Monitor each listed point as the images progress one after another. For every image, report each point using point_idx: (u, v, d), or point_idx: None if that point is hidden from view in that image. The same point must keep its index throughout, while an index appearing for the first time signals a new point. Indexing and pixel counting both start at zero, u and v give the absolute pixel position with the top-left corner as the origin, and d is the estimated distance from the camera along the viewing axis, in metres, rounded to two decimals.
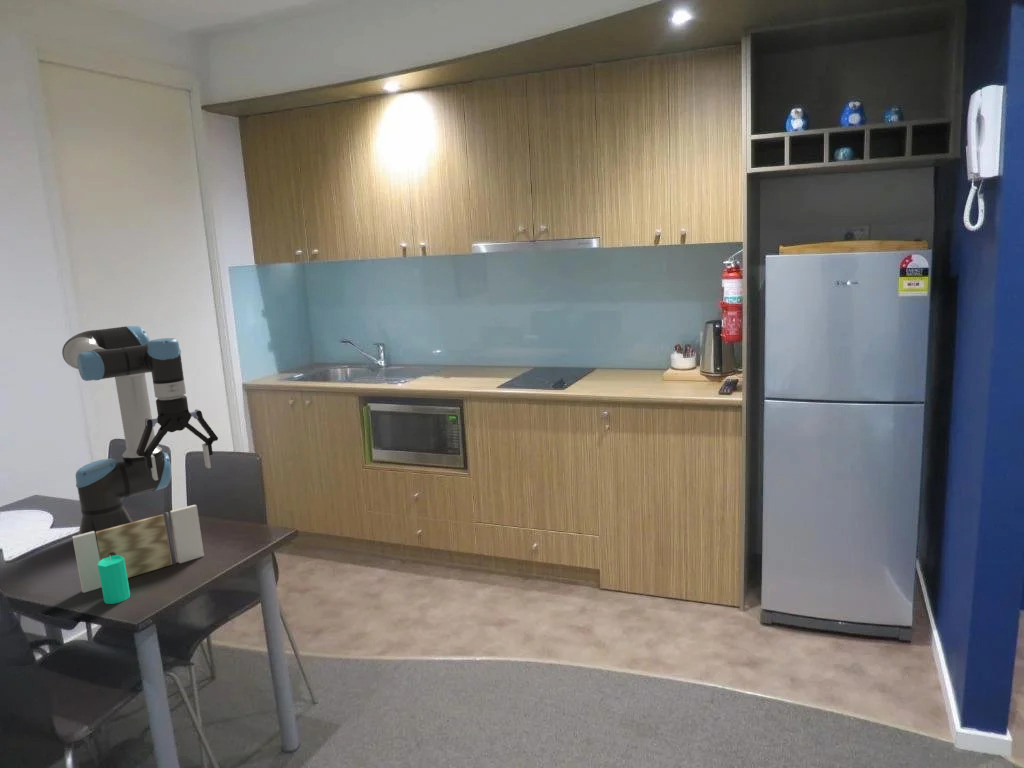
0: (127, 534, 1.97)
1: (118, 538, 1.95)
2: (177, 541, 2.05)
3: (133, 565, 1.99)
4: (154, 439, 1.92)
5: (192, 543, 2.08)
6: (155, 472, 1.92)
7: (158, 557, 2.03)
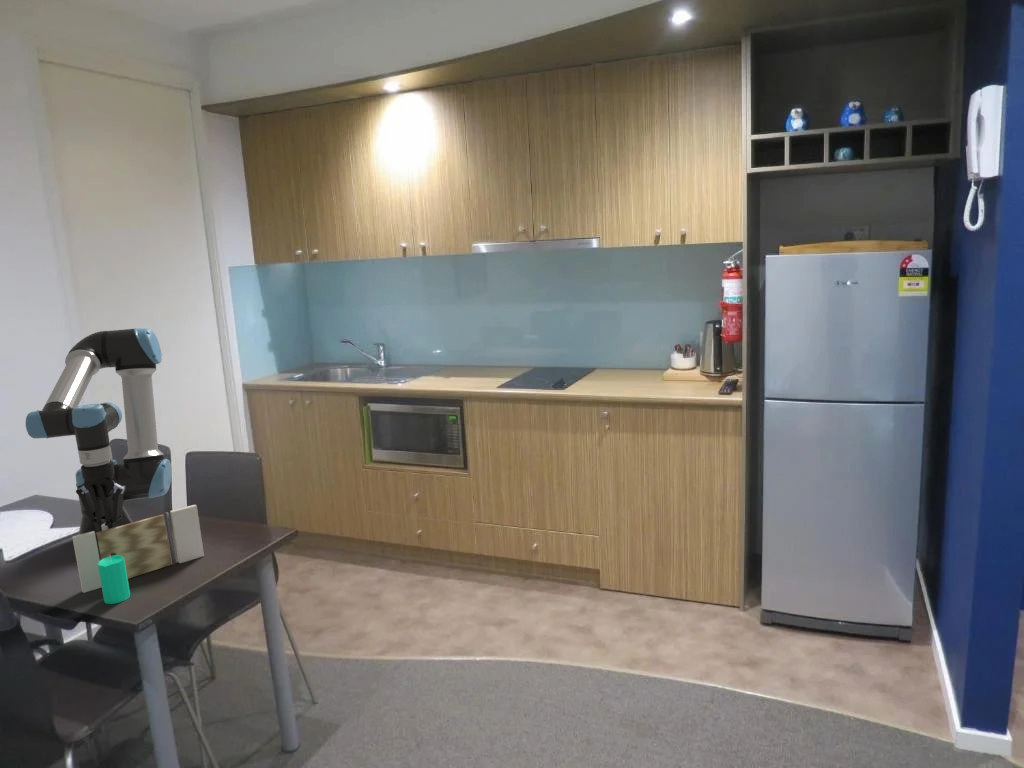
0: (127, 535, 1.96)
1: (119, 539, 1.95)
2: (177, 541, 2.05)
3: (134, 565, 1.98)
4: None
5: (192, 543, 2.08)
6: None
7: (158, 557, 2.03)
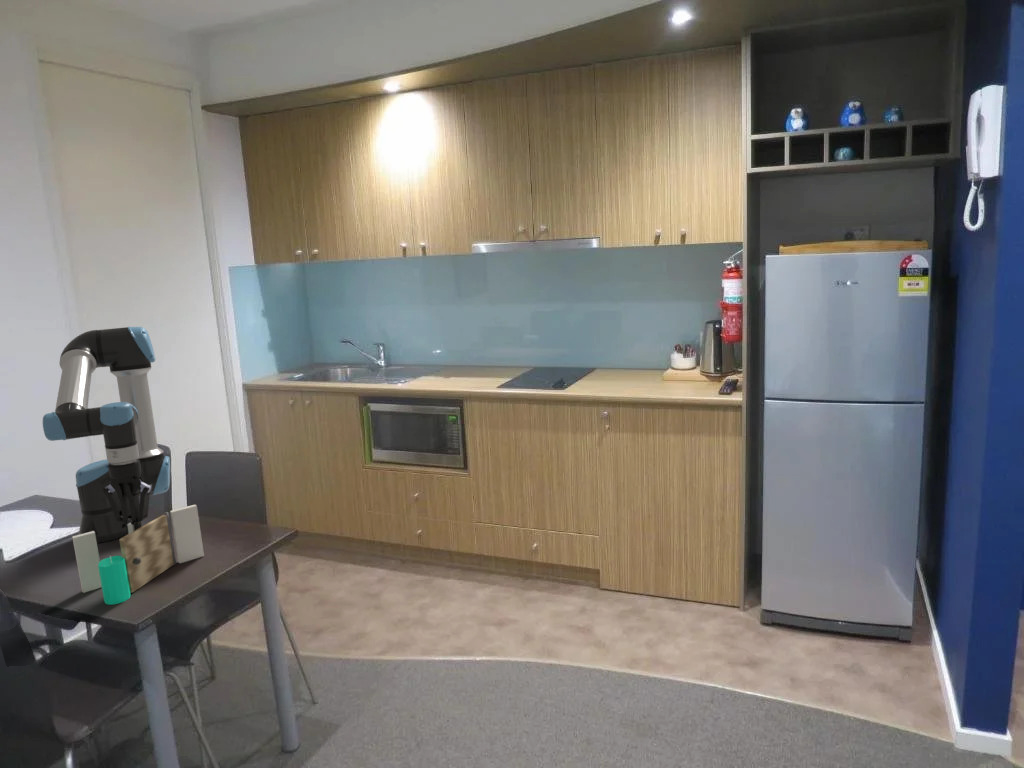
0: (143, 538, 1.94)
1: (138, 543, 1.92)
2: (177, 541, 2.05)
3: (149, 569, 1.96)
4: None
5: (192, 543, 2.08)
6: None
7: (165, 558, 2.02)
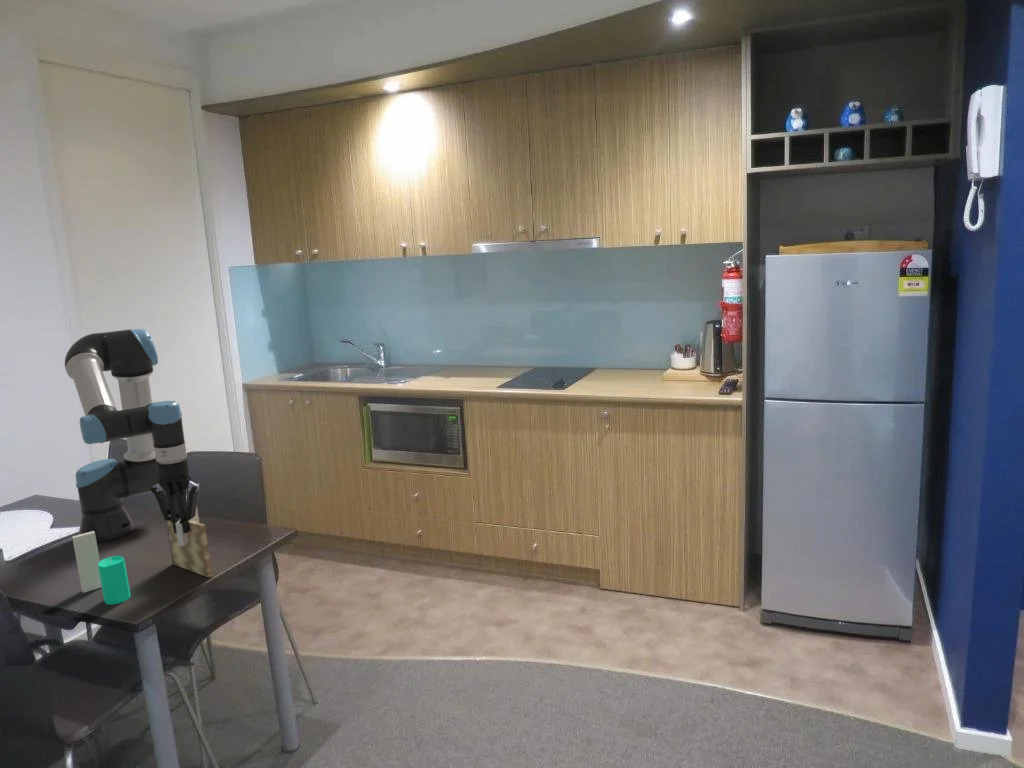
0: None
1: None
2: None
3: None
4: None
5: None
6: (179, 538, 1.94)
7: None
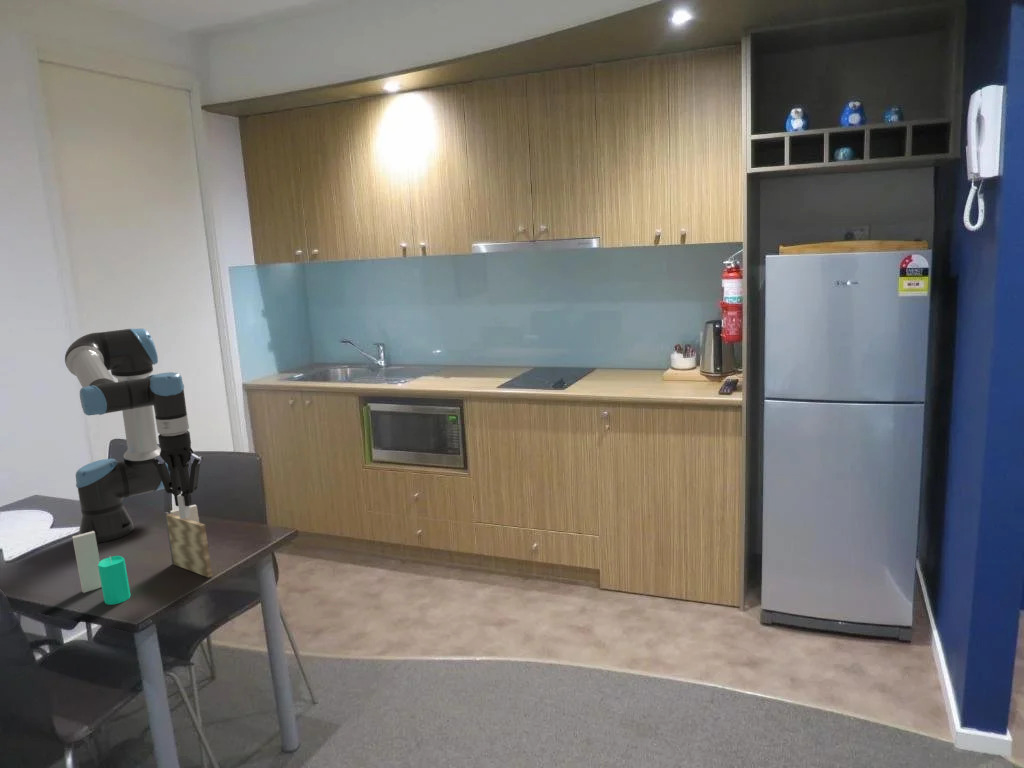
0: None
1: None
2: None
3: None
4: None
5: None
6: (180, 511, 1.93)
7: None
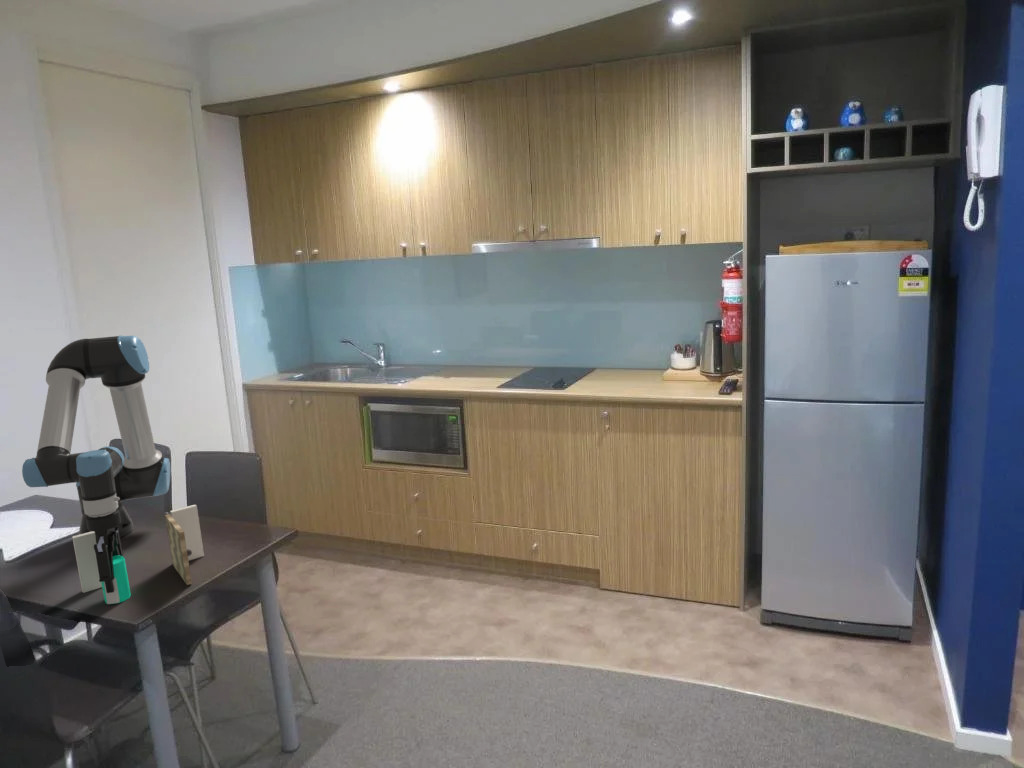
0: None
1: None
2: None
3: None
4: None
5: (192, 543, 2.08)
6: (118, 593, 1.84)
7: None
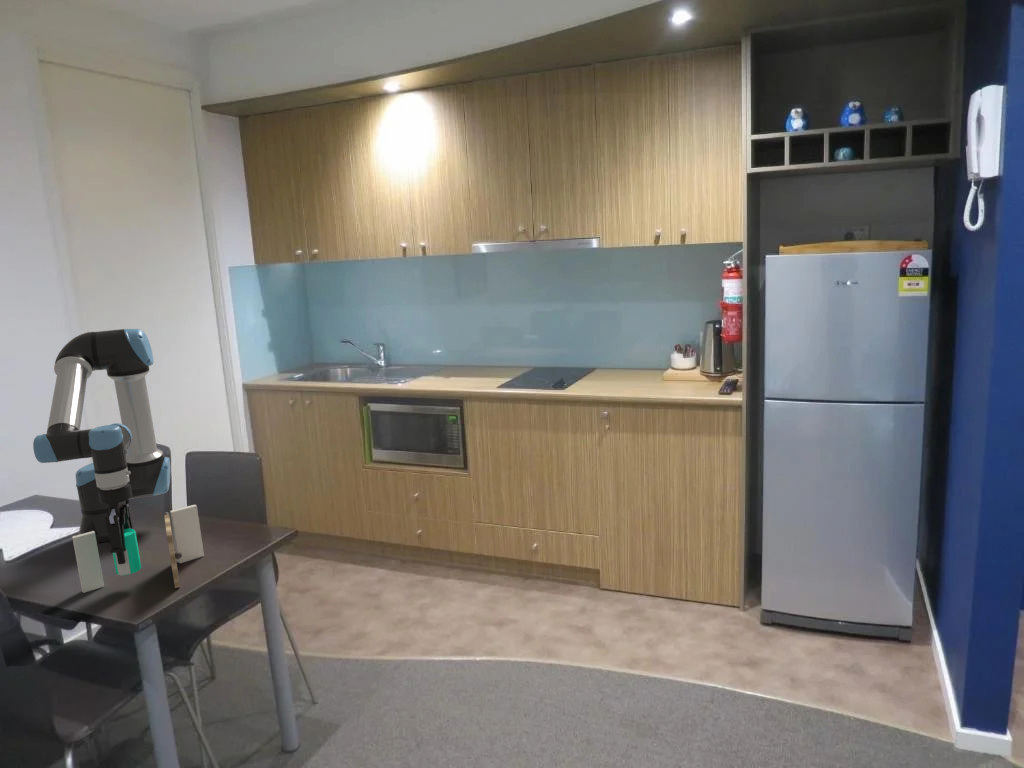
0: None
1: None
2: (177, 541, 2.05)
3: None
4: None
5: (192, 543, 2.08)
6: (129, 565, 1.89)
7: None
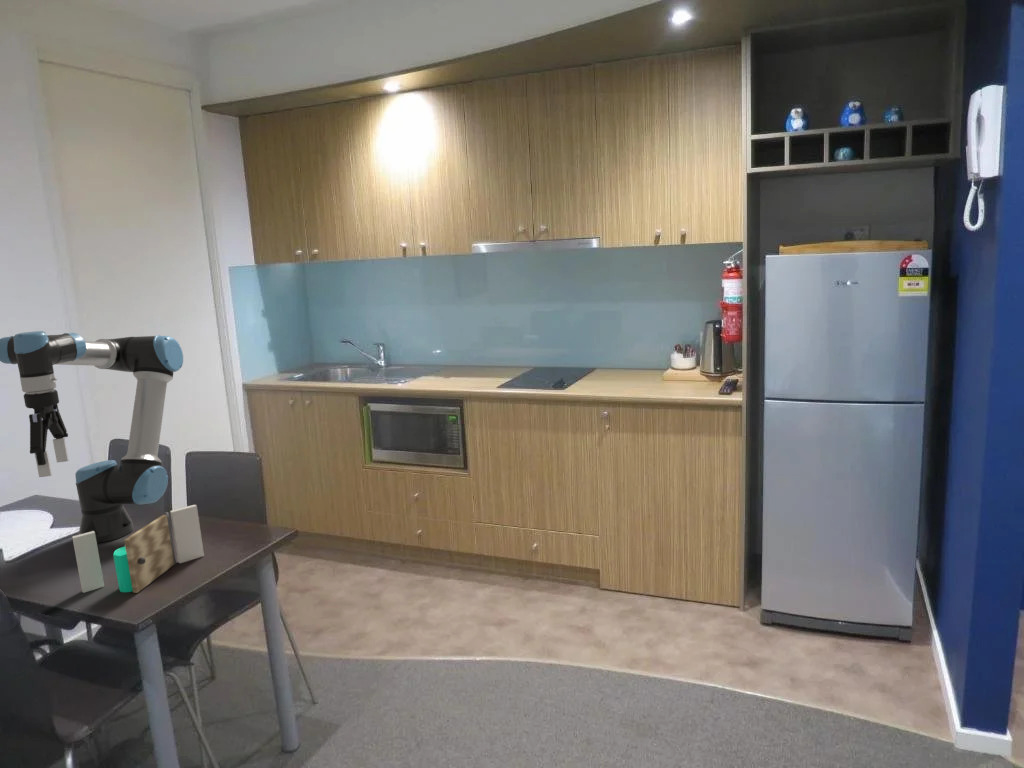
0: (146, 538, 1.93)
1: (142, 543, 1.91)
2: (177, 541, 2.05)
3: (152, 569, 1.96)
4: None
5: (192, 543, 2.08)
6: (50, 467, 1.87)
7: (166, 558, 2.02)
